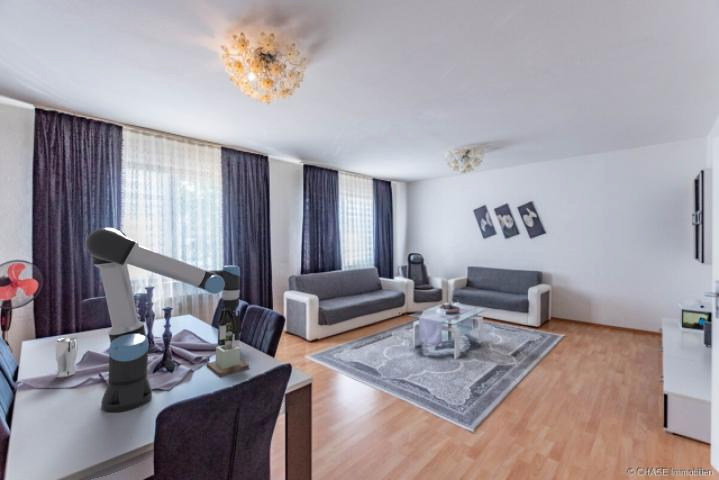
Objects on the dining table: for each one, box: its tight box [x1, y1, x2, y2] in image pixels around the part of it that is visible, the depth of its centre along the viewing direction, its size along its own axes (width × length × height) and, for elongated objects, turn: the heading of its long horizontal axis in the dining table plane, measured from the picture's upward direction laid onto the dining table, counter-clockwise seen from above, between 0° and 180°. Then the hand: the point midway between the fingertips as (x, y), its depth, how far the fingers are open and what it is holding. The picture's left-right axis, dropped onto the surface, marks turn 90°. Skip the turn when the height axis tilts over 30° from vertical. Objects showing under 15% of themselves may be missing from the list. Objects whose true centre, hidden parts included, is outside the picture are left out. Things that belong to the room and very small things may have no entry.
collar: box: [215, 345, 241, 369], centre depth 150 cm, size 8×8×8 cm
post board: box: [206, 341, 250, 378], centre depth 150 cm, size 14×14×12 cm
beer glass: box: [55, 336, 79, 379], centre depth 135 cm, size 7×7×15 cm
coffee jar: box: [217, 318, 234, 346], centre depth 174 cm, size 10×8×19 cm
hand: (228, 342), depth 150 cm, fingers open, 13 cm apart
